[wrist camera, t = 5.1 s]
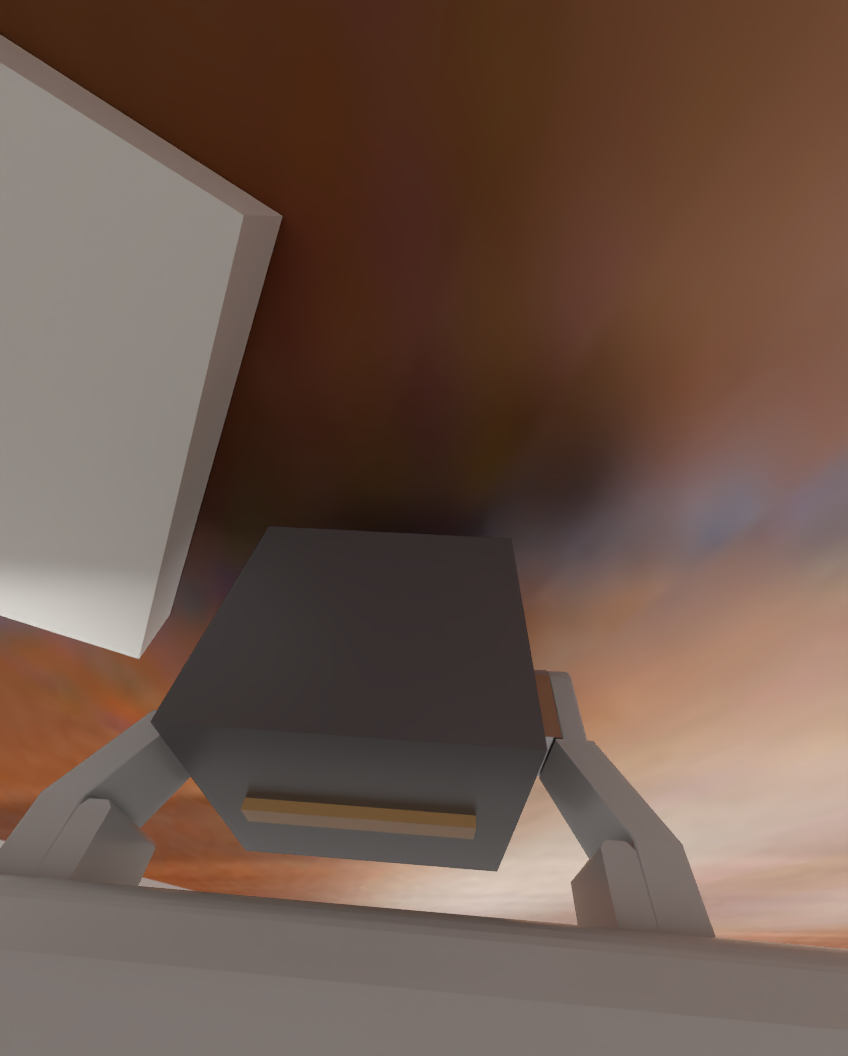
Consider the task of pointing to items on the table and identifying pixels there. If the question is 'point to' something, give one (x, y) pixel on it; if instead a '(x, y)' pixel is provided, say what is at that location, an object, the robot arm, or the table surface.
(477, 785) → the grey drawer box
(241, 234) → the hub plate
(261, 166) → the table surface
